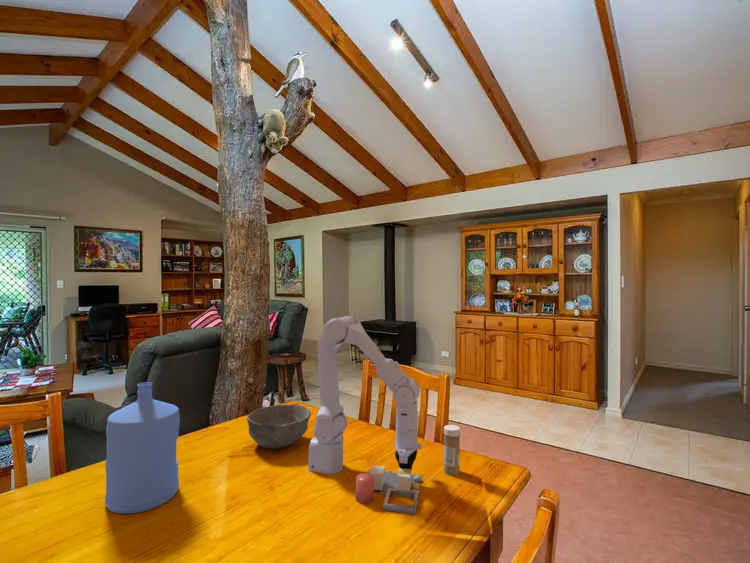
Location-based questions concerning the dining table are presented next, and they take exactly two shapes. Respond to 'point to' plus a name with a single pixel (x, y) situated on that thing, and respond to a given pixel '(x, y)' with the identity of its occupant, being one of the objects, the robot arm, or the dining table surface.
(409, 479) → the toggle
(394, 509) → the frame
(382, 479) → the toggle
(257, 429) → the bowl
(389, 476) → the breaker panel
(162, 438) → the water jug
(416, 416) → the robot arm
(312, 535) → the dining table surface
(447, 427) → the sprinkles bottle
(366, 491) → the cap
